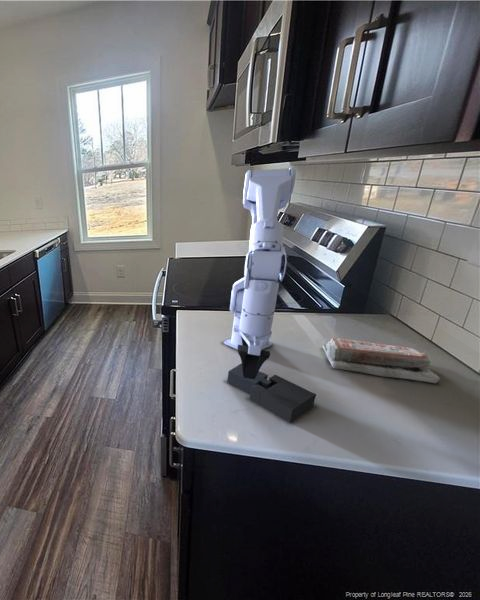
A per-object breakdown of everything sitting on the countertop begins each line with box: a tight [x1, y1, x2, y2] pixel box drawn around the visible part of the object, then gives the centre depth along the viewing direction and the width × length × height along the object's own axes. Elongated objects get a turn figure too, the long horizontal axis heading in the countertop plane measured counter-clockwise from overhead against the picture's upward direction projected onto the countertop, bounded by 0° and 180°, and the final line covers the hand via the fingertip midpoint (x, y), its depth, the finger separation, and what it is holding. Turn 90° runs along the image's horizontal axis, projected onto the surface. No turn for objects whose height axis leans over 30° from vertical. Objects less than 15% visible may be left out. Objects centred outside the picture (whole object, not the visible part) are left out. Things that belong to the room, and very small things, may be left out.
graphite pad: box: [226, 362, 272, 395], centre depth 69 cm, size 5×8×3 cm, turn 34°
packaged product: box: [322, 337, 440, 384], centre depth 73 cm, size 18×5×10 cm
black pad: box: [249, 374, 317, 424], centre depth 63 cm, size 8×8×3 cm
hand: (248, 367), depth 68 cm, fingers open, 7 cm apart
